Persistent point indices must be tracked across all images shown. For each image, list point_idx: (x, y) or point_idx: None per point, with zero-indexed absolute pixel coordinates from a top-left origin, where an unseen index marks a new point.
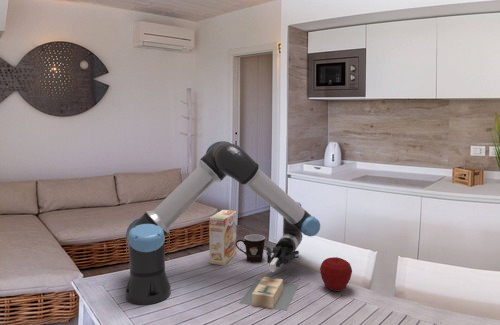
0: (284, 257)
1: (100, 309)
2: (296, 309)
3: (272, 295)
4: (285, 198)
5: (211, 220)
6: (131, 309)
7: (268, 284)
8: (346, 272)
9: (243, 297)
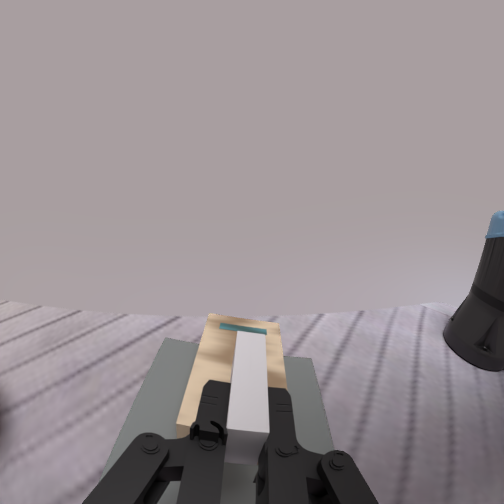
0: (161, 458)
1: None
2: (135, 348)
3: (211, 317)
4: None
5: None
6: (445, 318)
7: None
8: None
9: (316, 383)
